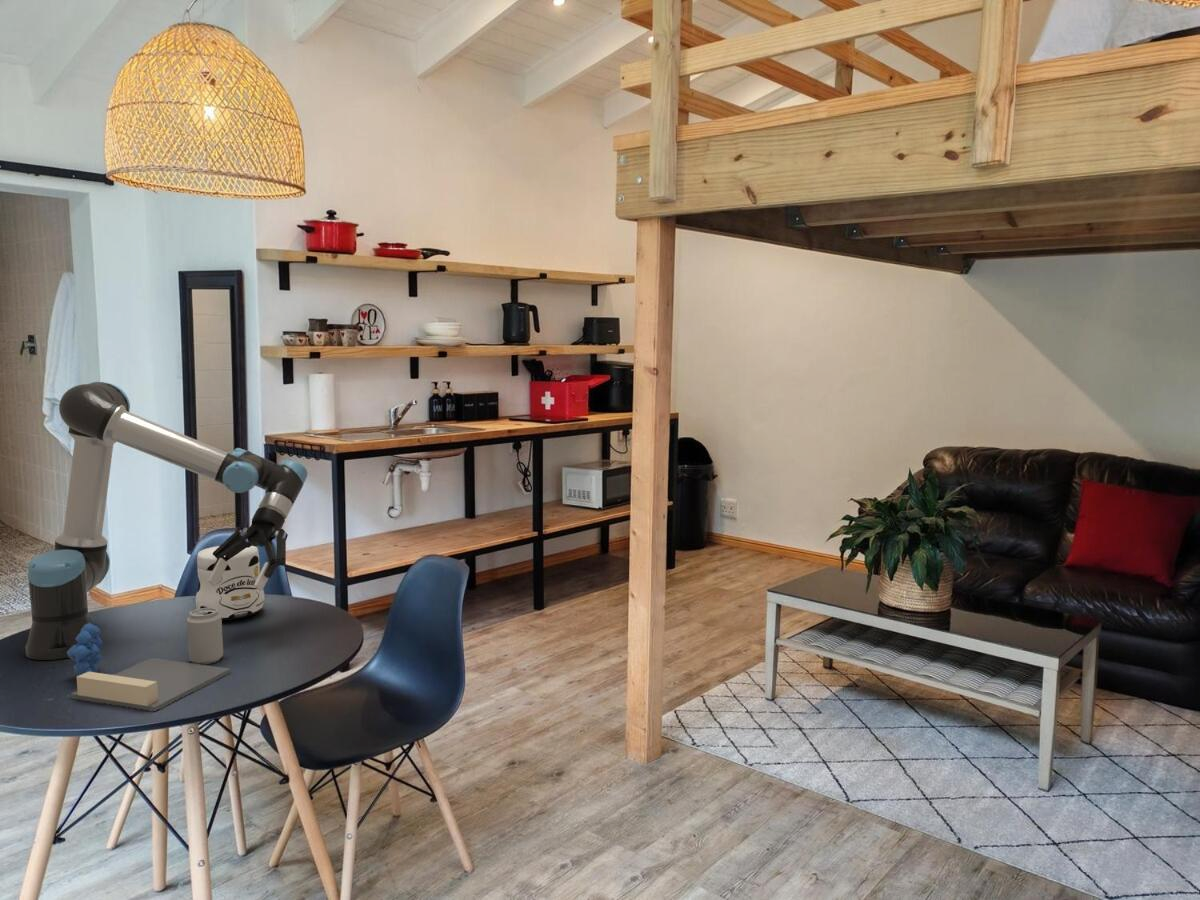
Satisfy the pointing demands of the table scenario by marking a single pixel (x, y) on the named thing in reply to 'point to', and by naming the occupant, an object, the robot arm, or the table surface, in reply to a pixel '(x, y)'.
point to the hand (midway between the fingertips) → (234, 585)
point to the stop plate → (167, 680)
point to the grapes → (86, 649)
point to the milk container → (230, 584)
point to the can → (204, 636)
